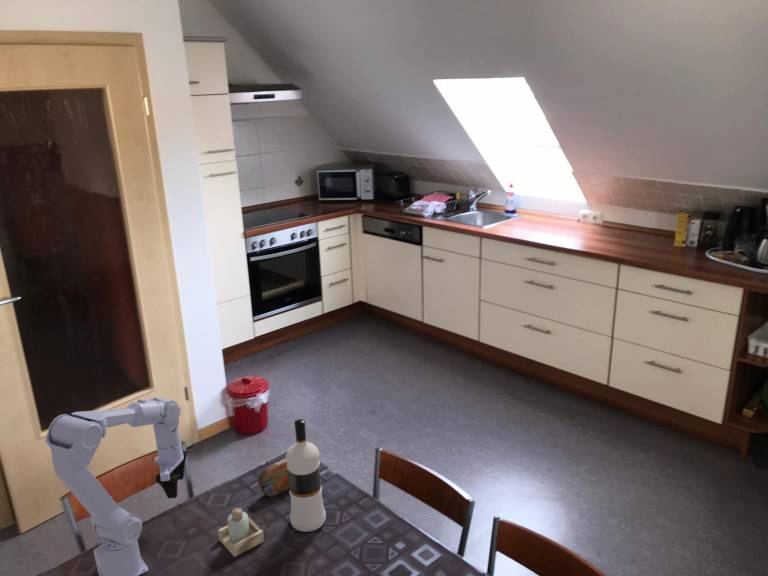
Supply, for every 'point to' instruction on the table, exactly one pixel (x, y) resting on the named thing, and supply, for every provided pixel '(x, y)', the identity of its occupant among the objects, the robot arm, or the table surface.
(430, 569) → the table surface
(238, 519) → the bottle
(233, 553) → the wooden box
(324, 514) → the vodka
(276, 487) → the tin
